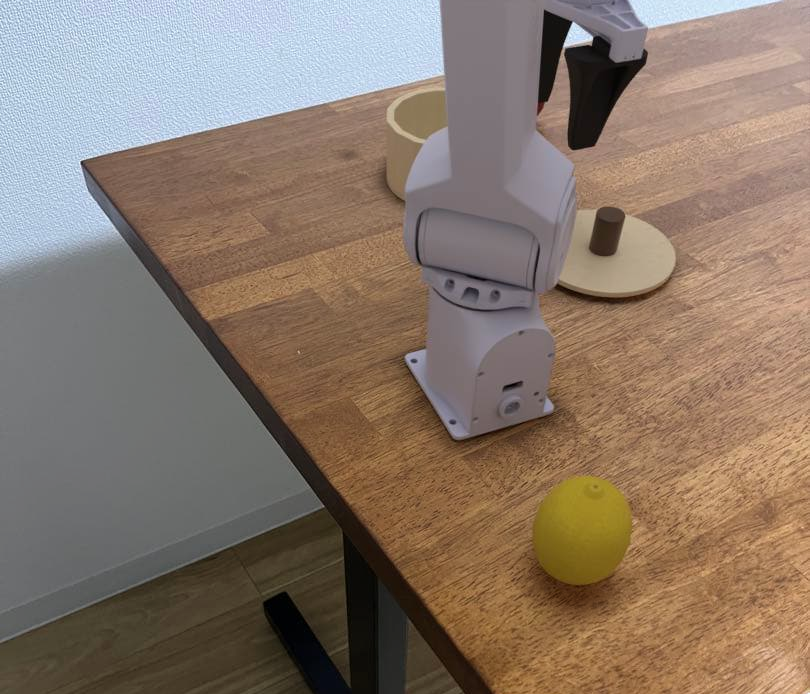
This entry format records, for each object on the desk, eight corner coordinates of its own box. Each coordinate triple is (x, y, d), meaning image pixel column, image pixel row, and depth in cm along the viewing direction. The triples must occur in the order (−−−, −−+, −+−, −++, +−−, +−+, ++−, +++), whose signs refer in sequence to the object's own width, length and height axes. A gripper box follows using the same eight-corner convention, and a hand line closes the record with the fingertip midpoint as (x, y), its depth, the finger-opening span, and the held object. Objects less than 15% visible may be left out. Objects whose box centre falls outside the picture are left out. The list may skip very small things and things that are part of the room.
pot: (525, 197, 76) (535, 133, 71) (414, 221, 73) (416, 156, 68) (473, 141, 82) (479, 79, 78) (369, 161, 79) (368, 98, 75)
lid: (701, 284, 68) (717, 238, 65) (573, 317, 65) (584, 271, 62) (623, 209, 75) (634, 164, 72) (504, 236, 72) (510, 190, 69)
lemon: (611, 617, 48) (646, 534, 41) (518, 600, 48) (539, 516, 42) (615, 544, 51) (648, 457, 45) (528, 529, 52) (548, 442, 45)
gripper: (709, -60, 49) (651, 158, 60) (590, -127, 57) (558, 76, 68) (609, -47, 48) (568, 175, 58) (501, -118, 56) (482, 89, 66)
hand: (557, 123), depth 63 cm, fingers open, 7 cm apart
